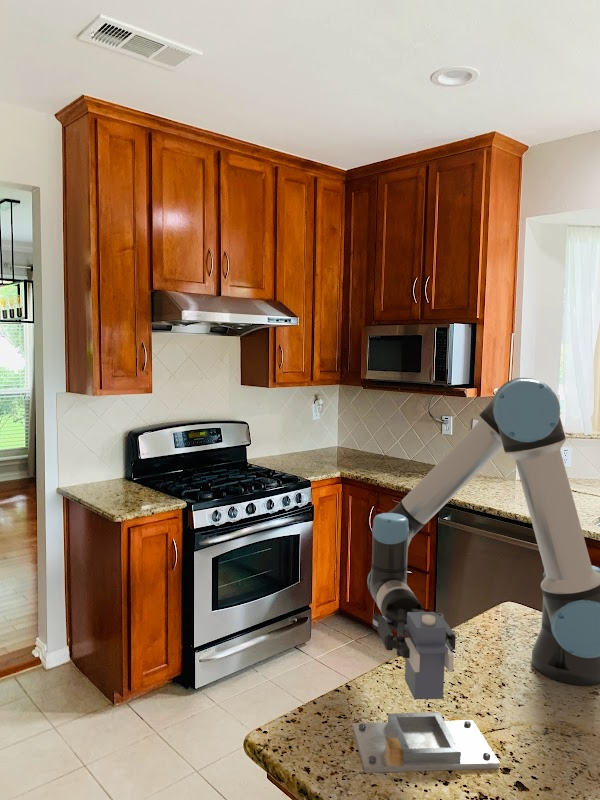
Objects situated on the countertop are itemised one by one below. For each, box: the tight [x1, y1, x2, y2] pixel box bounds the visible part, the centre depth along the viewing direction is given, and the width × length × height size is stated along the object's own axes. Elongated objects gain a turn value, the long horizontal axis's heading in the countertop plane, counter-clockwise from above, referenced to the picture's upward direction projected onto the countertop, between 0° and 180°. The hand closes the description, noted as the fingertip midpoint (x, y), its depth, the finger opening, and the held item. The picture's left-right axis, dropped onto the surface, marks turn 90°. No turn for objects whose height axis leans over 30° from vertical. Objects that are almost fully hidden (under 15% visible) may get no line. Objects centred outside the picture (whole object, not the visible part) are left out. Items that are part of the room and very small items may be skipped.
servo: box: [404, 611, 448, 700], centre depth 105 cm, size 5×9×13 cm, turn 5°
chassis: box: [351, 711, 500, 774], centre depth 106 cm, size 22×12×3 cm, turn 95°
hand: (434, 663), depth 99 cm, fingers closed on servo, 5 cm apart
